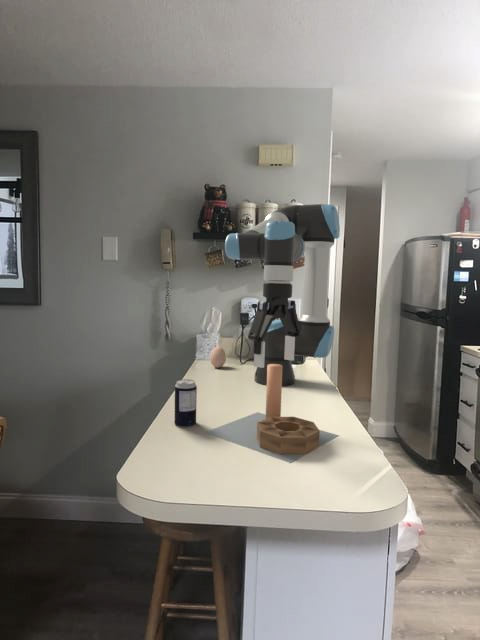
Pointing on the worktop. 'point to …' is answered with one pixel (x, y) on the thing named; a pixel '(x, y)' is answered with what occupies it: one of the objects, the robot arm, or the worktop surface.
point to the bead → (287, 435)
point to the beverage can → (185, 403)
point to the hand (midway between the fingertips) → (274, 363)
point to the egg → (218, 357)
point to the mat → (246, 435)
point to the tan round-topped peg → (273, 390)
